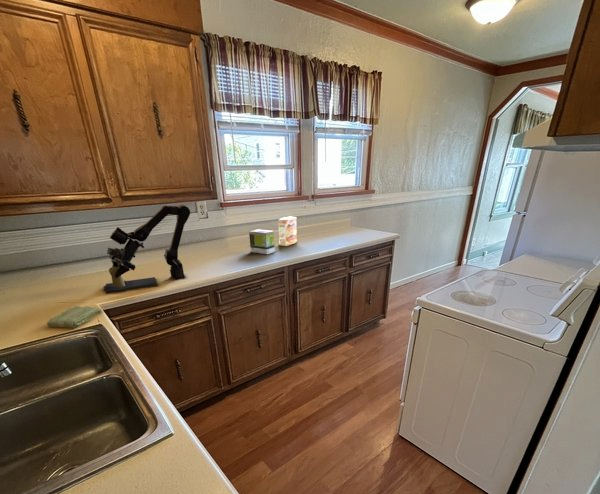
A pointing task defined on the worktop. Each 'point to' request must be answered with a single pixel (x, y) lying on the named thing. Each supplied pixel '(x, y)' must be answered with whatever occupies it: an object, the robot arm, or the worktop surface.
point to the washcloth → (73, 317)
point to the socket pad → (131, 285)
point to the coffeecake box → (287, 231)
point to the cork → (116, 281)
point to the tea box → (262, 241)
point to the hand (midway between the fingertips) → (113, 276)
